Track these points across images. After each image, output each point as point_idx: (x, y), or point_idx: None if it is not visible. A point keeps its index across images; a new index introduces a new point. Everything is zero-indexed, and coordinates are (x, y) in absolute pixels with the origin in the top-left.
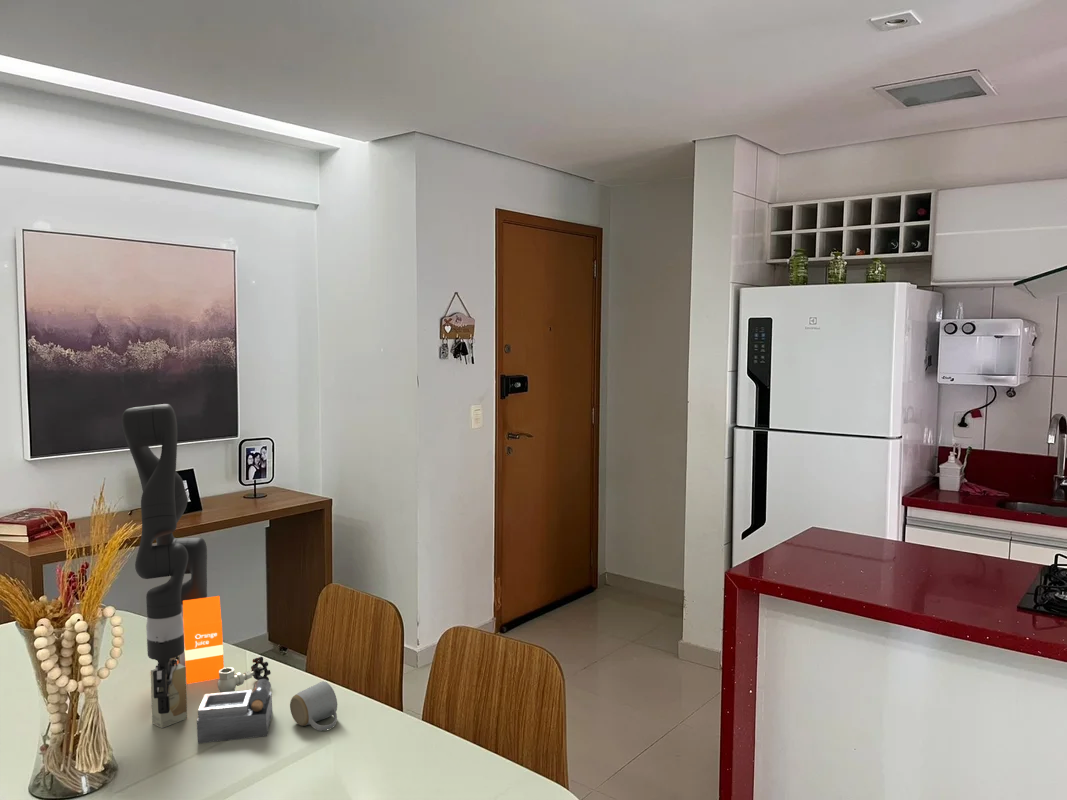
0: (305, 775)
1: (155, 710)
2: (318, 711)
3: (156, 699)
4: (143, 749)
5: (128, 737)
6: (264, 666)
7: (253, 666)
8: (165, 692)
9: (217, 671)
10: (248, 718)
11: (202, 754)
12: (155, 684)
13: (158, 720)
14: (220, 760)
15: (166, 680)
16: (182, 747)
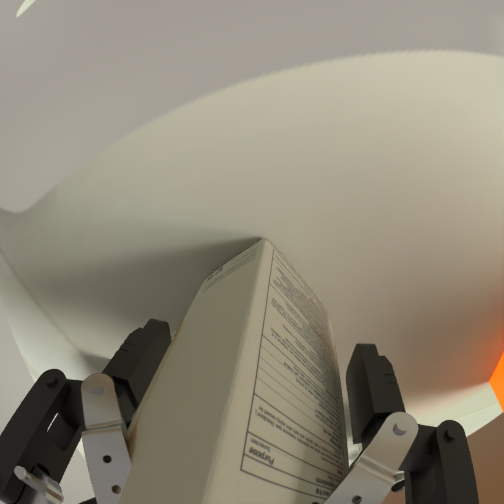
0: None
1: (219, 293)
2: None
3: (189, 344)
4: (80, 238)
5: (157, 161)
6: (392, 486)
7: None
8: (58, 424)
9: (501, 385)
10: None
11: (80, 359)
12: (12, 431)
13: (210, 282)
14: (72, 376)
15: (55, 475)
16: (96, 331)
